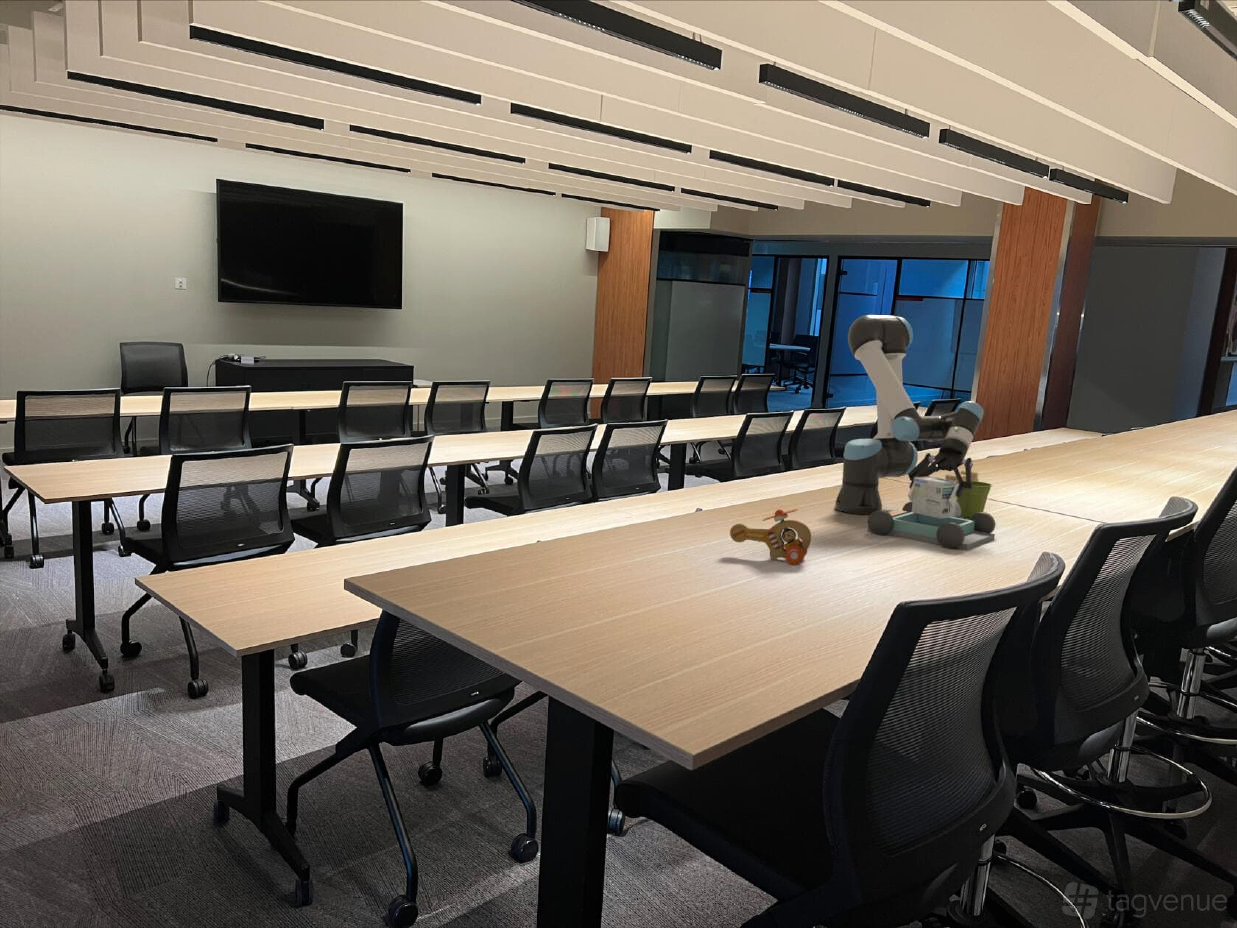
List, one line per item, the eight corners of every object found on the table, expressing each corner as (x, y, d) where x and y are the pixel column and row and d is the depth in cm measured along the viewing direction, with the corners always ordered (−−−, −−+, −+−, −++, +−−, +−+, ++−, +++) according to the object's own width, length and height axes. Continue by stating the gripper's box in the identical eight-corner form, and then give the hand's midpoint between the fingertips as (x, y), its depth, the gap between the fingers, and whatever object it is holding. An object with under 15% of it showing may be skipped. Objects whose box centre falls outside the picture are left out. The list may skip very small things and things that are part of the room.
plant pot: (996, 518, 296) (1000, 484, 295) (974, 522, 290) (978, 487, 288) (965, 511, 306) (968, 478, 304) (943, 514, 299) (946, 481, 298)
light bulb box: (955, 517, 265) (958, 480, 264) (940, 519, 261) (943, 482, 260) (925, 510, 274) (928, 475, 272) (910, 512, 270) (913, 476, 269)
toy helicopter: (807, 566, 228) (811, 513, 226) (725, 557, 234) (728, 505, 232) (811, 559, 235) (815, 507, 233) (732, 550, 242) (735, 499, 240)
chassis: (863, 531, 270) (865, 508, 269) (901, 520, 288) (903, 498, 287) (963, 551, 250) (965, 526, 249) (997, 537, 268) (999, 514, 267)
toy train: (978, 499, 331) (980, 471, 329) (958, 504, 319) (961, 476, 317) (963, 496, 335) (965, 469, 333) (943, 502, 323) (945, 474, 321)
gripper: (914, 433, 280) (888, 487, 271) (993, 440, 264) (967, 499, 255) (921, 449, 284) (895, 503, 275) (998, 457, 268) (973, 515, 259)
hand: (930, 501), depth 265 cm, fingers closed on light bulb box, 12 cm apart
